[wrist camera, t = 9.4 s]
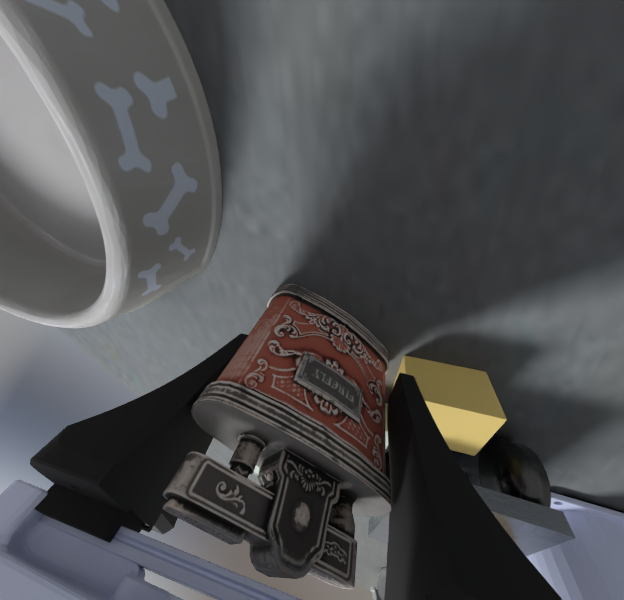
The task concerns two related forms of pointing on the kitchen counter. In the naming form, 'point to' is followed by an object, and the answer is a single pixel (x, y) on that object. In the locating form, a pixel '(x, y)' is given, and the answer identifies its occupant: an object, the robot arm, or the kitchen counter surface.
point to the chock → (457, 402)
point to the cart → (510, 498)
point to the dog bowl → (101, 160)
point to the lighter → (293, 441)
